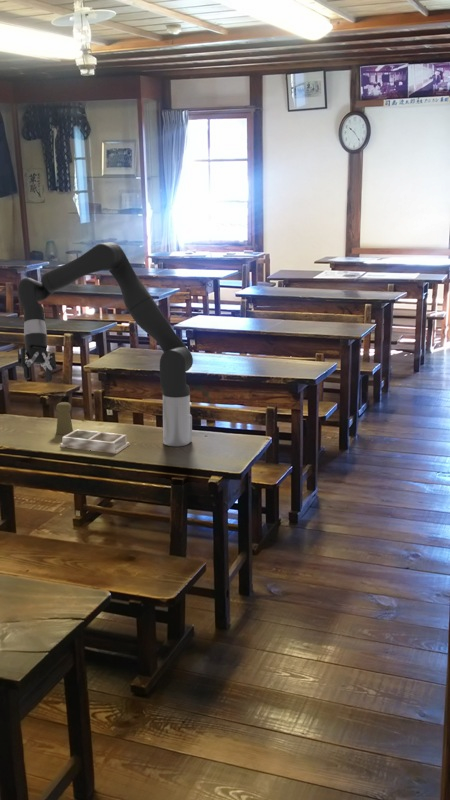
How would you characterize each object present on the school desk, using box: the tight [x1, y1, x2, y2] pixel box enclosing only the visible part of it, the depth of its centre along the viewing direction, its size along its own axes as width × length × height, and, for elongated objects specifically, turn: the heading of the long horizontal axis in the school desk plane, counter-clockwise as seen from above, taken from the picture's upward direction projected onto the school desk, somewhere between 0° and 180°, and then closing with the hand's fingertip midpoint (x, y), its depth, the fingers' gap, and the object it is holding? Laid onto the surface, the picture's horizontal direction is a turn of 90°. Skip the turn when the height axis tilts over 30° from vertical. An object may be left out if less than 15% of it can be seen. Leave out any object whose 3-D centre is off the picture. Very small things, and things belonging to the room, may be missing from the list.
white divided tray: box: [59, 429, 130, 455], centre depth 267 cm, size 21×10×4 cm, turn 72°
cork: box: [55, 401, 74, 436], centre depth 281 cm, size 6×6×11 cm
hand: (38, 380), depth 269 cm, fingers open, 8 cm apart
